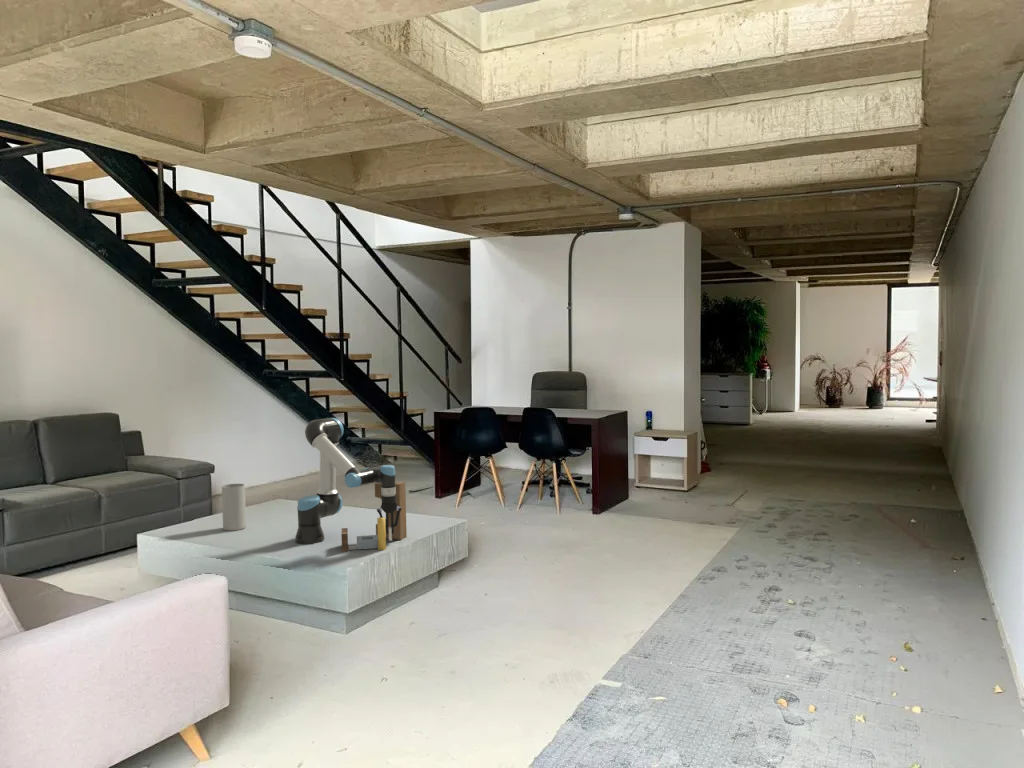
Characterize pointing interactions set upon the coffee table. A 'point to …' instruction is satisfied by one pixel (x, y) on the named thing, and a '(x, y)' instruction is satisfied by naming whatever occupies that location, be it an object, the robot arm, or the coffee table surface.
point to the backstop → (344, 539)
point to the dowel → (381, 533)
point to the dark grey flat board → (352, 547)
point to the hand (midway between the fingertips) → (390, 539)
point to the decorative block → (400, 494)
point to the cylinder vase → (233, 507)
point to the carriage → (367, 542)
